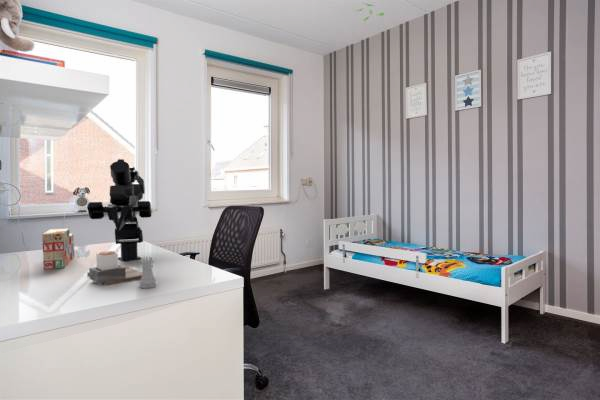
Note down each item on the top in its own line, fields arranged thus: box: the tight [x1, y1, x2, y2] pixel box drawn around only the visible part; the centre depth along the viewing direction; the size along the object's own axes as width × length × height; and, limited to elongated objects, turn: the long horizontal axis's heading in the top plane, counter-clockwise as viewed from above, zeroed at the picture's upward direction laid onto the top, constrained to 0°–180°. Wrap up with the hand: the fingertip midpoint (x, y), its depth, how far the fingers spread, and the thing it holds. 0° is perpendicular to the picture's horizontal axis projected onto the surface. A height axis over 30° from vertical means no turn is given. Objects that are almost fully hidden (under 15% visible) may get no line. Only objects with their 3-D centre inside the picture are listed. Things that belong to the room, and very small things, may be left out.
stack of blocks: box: [41, 228, 75, 270], centre depth 138 cm, size 21×6×12 cm, turn 23°
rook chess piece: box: [138, 256, 157, 289], centre depth 106 cm, size 4×4×8 cm
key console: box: [86, 264, 143, 287], centre depth 116 cm, size 16×14×4 cm
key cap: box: [95, 250, 119, 270], centre depth 111 cm, size 4×4×4 cm
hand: (117, 229), depth 121 cm, fingers closed
